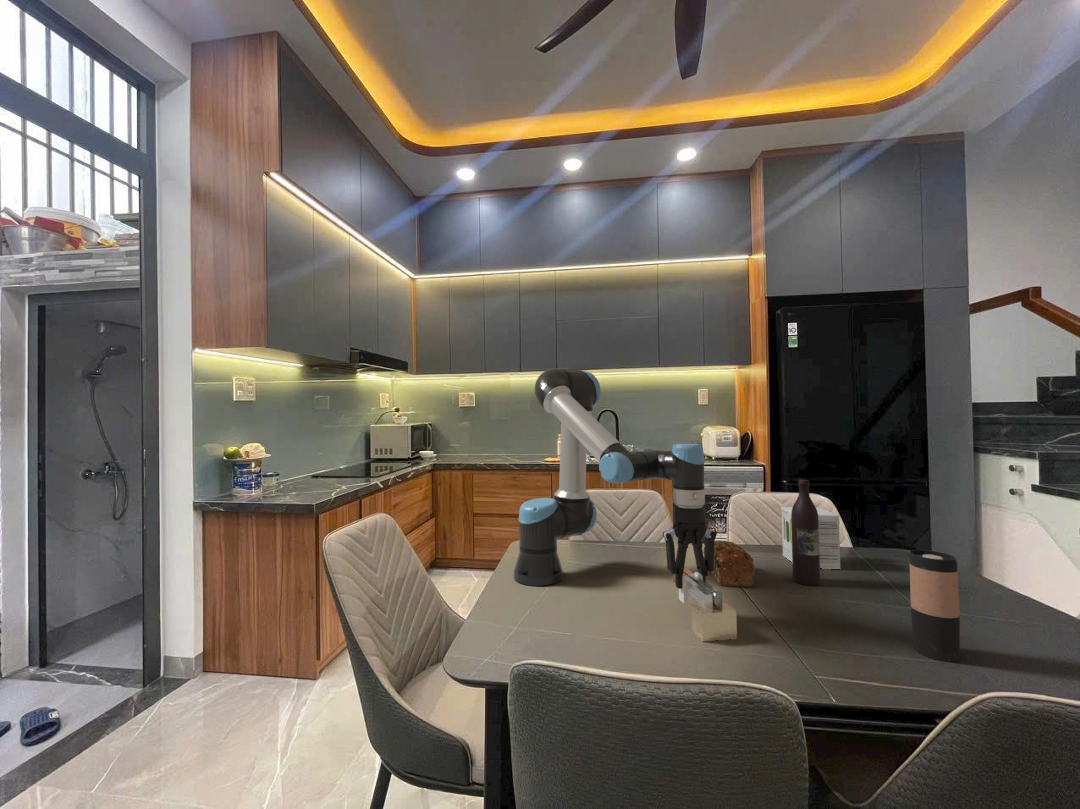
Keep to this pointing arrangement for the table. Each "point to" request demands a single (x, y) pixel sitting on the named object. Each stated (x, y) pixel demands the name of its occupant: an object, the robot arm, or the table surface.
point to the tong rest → (710, 615)
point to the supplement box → (827, 537)
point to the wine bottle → (805, 538)
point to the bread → (732, 565)
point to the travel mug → (935, 605)
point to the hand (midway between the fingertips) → (690, 600)
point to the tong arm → (707, 588)
